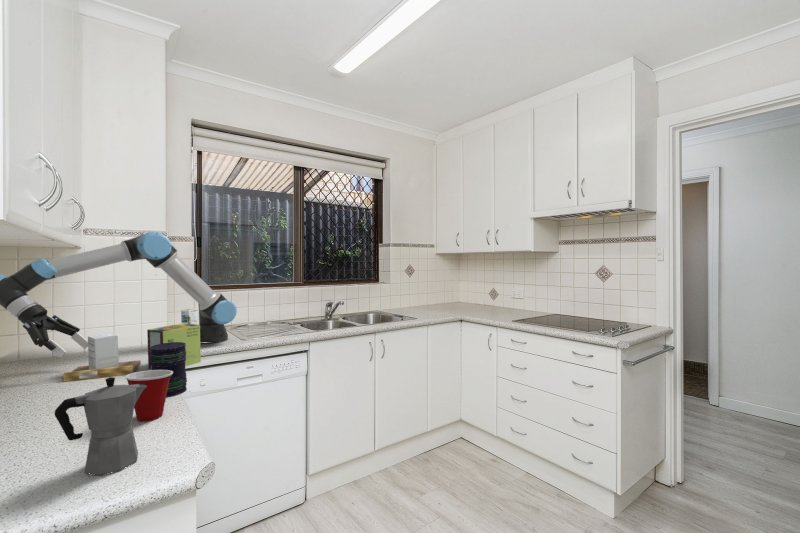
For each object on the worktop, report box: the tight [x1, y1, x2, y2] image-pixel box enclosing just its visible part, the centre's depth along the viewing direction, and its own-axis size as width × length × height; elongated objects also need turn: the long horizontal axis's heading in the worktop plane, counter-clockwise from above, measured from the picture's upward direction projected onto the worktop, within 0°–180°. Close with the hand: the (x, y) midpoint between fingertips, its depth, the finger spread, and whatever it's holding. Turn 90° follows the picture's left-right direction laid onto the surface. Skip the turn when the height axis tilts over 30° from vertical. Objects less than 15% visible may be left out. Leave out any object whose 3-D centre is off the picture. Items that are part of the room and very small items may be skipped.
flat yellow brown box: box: [63, 359, 142, 382], centre depth 144 cm, size 20×15×3 cm
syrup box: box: [180, 308, 198, 325], centre depth 214 cm, size 6×6×14 cm
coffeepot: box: [54, 376, 147, 476], centre depth 78 cm, size 15×9×18 cm, turn 144°
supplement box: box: [87, 332, 120, 370], centre depth 143 cm, size 7×7×13 cm
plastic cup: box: [124, 369, 173, 422], centre depth 103 cm, size 11×11×12 cm
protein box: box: [146, 323, 202, 370], centre depth 153 cm, size 10×15×16 cm
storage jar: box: [150, 342, 188, 398], centre depth 122 cm, size 10×10×15 cm
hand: (76, 350), depth 142 cm, fingers open, 13 cm apart
